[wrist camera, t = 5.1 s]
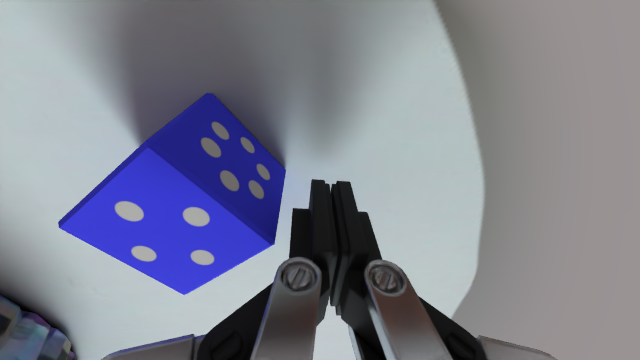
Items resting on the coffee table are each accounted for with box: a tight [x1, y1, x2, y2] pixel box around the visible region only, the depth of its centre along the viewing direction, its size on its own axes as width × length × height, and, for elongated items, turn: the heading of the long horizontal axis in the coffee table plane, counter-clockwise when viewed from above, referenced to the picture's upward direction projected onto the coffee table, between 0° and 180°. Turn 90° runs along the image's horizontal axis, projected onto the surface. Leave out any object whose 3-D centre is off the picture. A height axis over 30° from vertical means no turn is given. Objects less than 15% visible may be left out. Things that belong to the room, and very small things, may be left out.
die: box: [58, 93, 286, 295], centre depth 10 cm, size 5×5×5 cm
